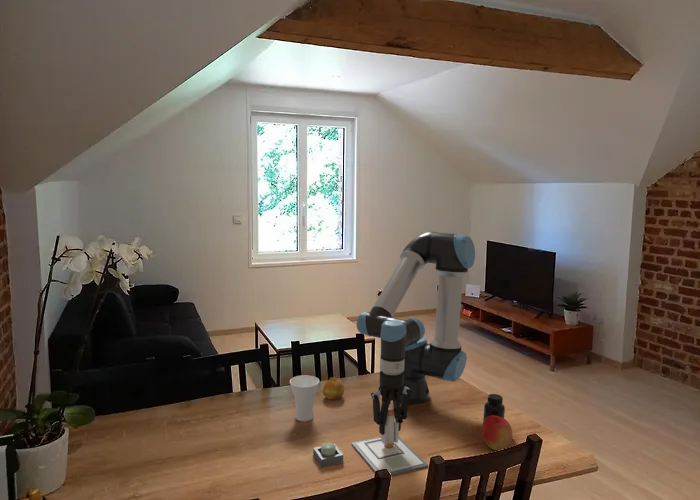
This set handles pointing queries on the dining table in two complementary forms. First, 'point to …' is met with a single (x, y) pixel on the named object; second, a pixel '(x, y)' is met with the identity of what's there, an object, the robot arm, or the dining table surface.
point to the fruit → (333, 388)
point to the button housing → (327, 460)
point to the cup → (304, 395)
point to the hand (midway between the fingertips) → (389, 441)
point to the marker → (390, 428)
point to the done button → (328, 449)
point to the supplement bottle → (494, 406)
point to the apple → (496, 432)
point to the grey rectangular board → (389, 456)
